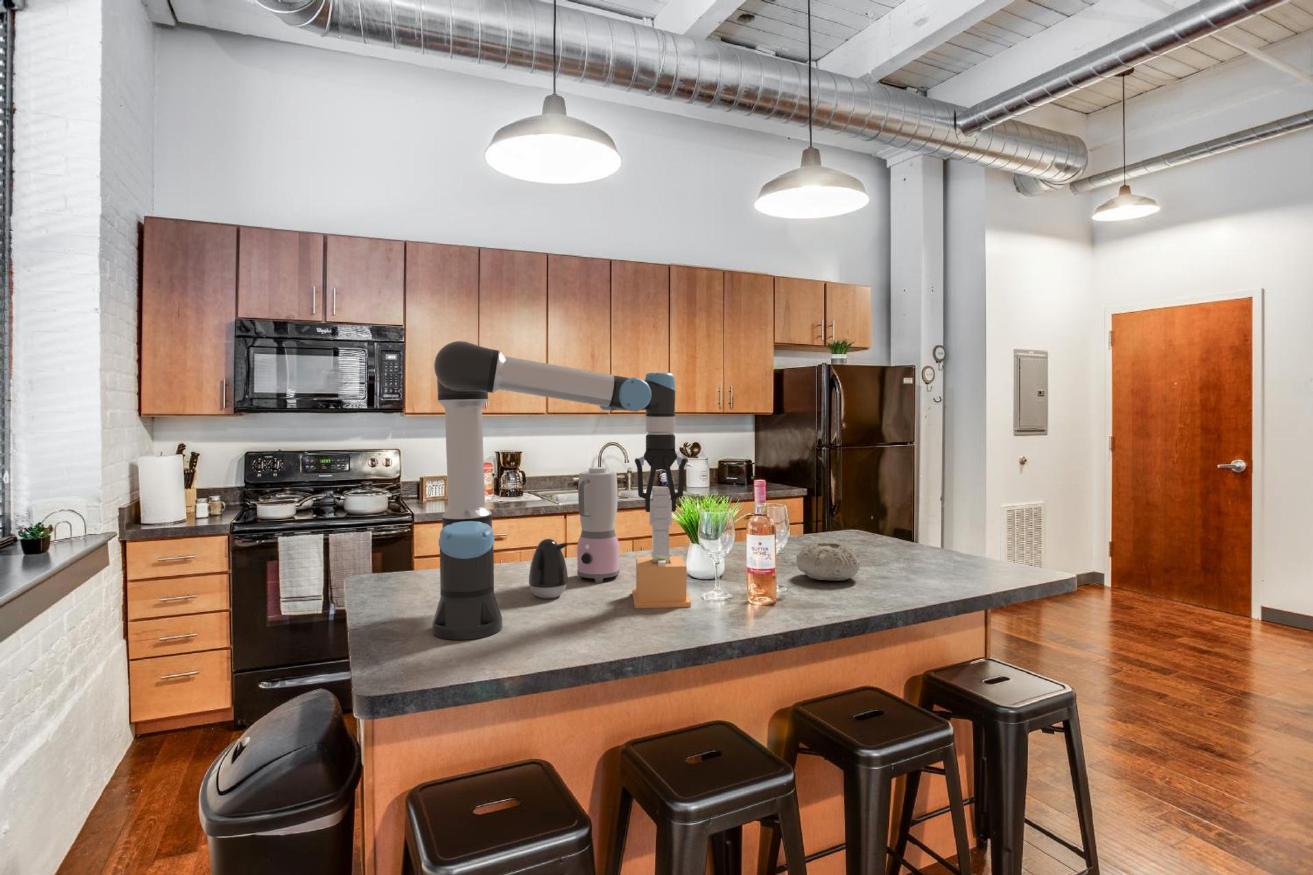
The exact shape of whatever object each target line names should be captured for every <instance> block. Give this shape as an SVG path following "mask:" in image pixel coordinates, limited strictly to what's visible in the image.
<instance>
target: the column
mask: <svg viewBox="0 0 1313 875" xmlns="http://www.w3.org/2000/svg"><path fill="white" fill-rule="evenodd" d="M651 499H653V526H651V529H652V530H651V531H652V532H651V541H652V542H651V544H652V546H651V548H652V549H651V553H650V555H651V556H650V557H652V564H658V560H665V561H666V564H669V560H670V556H671V555H670V525H669V499H670V491H669V486H653V487H652V492H651Z"/></svg>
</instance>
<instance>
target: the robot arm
mask: <svg viewBox="0 0 1313 875" xmlns="http://www.w3.org/2000/svg"><path fill="white" fill-rule="evenodd" d="M434 359H435V360H434V366H433V367H434V368H433V369H434V373H435V376H436V380H437V381H436V385H437V386H436V387H437V402H438V403H439V404H440V405H441V406H442V407H443V408H444V416H445V417H444V421H445V422H444V427H445V449H446V451H445V453H446V455H445V457H446V478H447V483H446V484H447V506H448V507H447V510H445V511H444V512H443V514H442V515H441V520H442V521H441V522H442V523H441V524H442V527H441V530H440V533H439V538H438V547H439V584H440V589H439V590H440V591H439V592H440V594H439V595H440V596H439V601H438V605H437V607H436V611H435V613H434V617H433V619H432V634H433V635H434V636H435V637H437V638H441V639H444V640H457V641H458V640H459V641H461V640H462V641H463V640H465V641H466V640H473V639H481V638H485V637H488V636H491V635H494V634H497V633H498V632H500V631H501V630H502V629H503V616H502V613H501V610H500V607H499V605H498V601H497V597H496V596H495V570H494V569H495V568H494V567H495V564H494V562H495V560H494V558H495V557H494V554H495V553H494V551H495V549H494V544H495V536H494V530H493V518H492V516H493V513H492V511H491V510H490V509H488V508H487V506H486V495H485V494H486V493H485V490H486V489H485V464H484V434H483V430H484V429H483V428H484V427H483V407H484V405H485V404H486V403H487V402H488V401H489V394H488V393H491V394H495V393H496V392H497V391H498V392H499V391H507V392H512V393H513V392H514V393H520V394H526V395H532V396H537V397H545V398H549V399H550V398H551V399H557V400H561V401H562V400H563V401H570V402H575V403H583V404H587V405H594V406H599V407H600V408H599V409H601V410H603V411H611V412H613V411H614V412H615V411H629V412H639V411H645V432H646V433H647V434H646V435H645V452H644V454H643V456H640V457H636V458H635V459H634V463H635V465H636V474H637V495H638V497H639V498H642V499H644V507H645V508H644V510H645V512H646V513H649V526H651V527H652V526H653V499H652V487H654V482H655V477H656V473H657V471H659V470H662V471H665V472H664V473H665V475H666V481H667V485H668V486H667V487H668V488H669V497H670V498H669V526H672V525H673V521H672V520H673V516H672V514H673V512H674V513H675V512H676V510H677V499H679V498H681V497H683V496H684V482H685V481H684V478H685V466H686V464H687V462H688V461H687V459H686V458H685V457H680V456H679V455H678V453H677V451H676V435H675V434H674V433H675V432H676V392H677V391H676V379H675V378H676V377H675V376H674V374H673V373H672V372H648V373H646V375H645V378H644V380H643V379H641V378H638V377H626V376H619V375H613V374H611V373H610V374H609V373H604V372H599V371H591V370H586V369H581V368H580V369H579V368H574V367H568V366H562V365H559V364H557V365H556V364H551V363H545V362H540V361H536V360H535V361H534V360H529V359H523V358H517V357H511V356H506V355H504V354H503V352H502V351H501V350H498V349H492V348H488V347H483V346H482V345H481V346H480V345H477V344H474V343H472V342H469V341H464V340H463V341H462V340H461V341H460V340H459V341H458V340H457V341H453V342H449V343H447V344H446V345H444V346H443V347H442V348H440V350H438V352H437V354H436V356H435V358H434ZM645 462H647V464H648V465H649V467H650V470H649V476H648V479H647V484H646V485H647V486H646V488H645V489H646V490H645V492H644V478H643V466H644V464H645ZM675 462H676V464H677V465H678V470H677V472H678V473H677V491H676V490H675V486H674V485H675V484H674V481H673V476H672V470H671V467H672V466H673V464H674V463H675Z"/></svg>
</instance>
